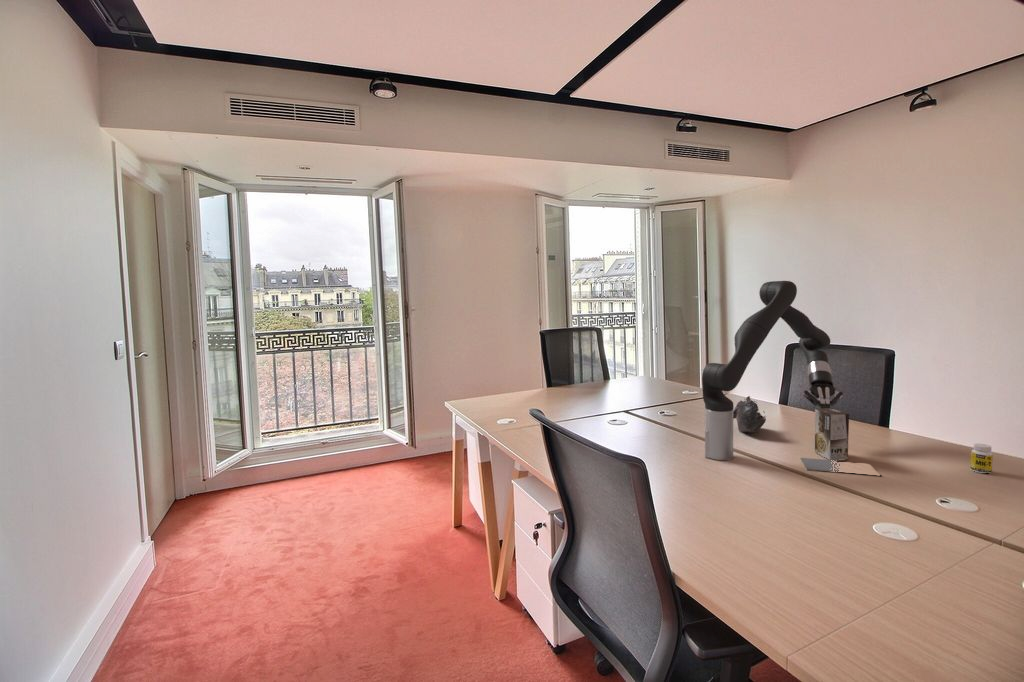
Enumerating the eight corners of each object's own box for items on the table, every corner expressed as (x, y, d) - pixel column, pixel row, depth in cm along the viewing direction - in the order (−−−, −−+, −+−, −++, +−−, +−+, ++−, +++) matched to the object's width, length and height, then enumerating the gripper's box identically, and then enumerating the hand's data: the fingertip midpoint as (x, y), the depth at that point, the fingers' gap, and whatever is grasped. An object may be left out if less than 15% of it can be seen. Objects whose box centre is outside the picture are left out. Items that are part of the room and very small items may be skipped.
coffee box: (848, 460, 165) (850, 413, 164) (829, 461, 165) (830, 414, 164) (831, 451, 174) (833, 407, 173) (813, 452, 175) (814, 408, 173)
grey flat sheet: (806, 470, 158) (806, 469, 158) (800, 458, 169) (800, 457, 169) (881, 476, 151) (881, 475, 150) (870, 464, 161) (870, 463, 161)
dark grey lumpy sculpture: (726, 423, 212) (731, 439, 194) (730, 391, 210) (736, 404, 191) (762, 428, 208) (770, 445, 189) (766, 395, 206) (775, 408, 187)
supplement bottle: (973, 473, 151) (974, 446, 150) (968, 468, 155) (969, 442, 154) (994, 475, 149) (995, 448, 148) (988, 470, 153) (989, 443, 152)
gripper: (801, 369, 186) (806, 408, 176) (842, 370, 181) (850, 410, 171) (798, 380, 192) (803, 418, 181) (838, 381, 187) (845, 421, 177)
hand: (826, 414), depth 176 cm, fingers closed
